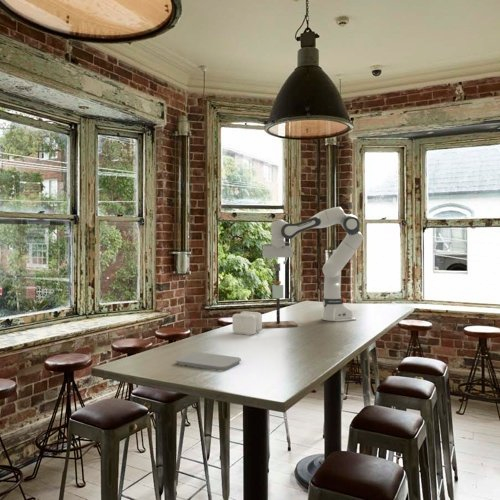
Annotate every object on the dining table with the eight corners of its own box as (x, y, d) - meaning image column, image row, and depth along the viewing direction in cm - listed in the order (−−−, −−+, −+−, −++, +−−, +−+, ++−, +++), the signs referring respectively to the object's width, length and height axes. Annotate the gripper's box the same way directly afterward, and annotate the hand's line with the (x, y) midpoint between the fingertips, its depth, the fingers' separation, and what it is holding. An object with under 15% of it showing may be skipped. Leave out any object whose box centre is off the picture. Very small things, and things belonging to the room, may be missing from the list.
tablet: (224, 372, 185) (224, 367, 185) (173, 365, 197) (173, 360, 197) (243, 363, 199) (243, 358, 199) (194, 356, 212) (194, 351, 212)
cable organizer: (263, 332, 262) (263, 312, 262) (253, 336, 253) (253, 315, 253) (241, 330, 270) (241, 310, 270) (231, 333, 261) (231, 313, 261)
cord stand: (292, 323, 291) (292, 262, 290) (298, 326, 278) (297, 263, 277) (259, 324, 288) (258, 263, 287) (262, 328, 275) (261, 264, 274)
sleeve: (279, 297, 286) (279, 284, 286) (283, 298, 281) (283, 285, 281) (272, 297, 284) (272, 284, 284) (276, 298, 279) (276, 285, 279)
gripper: (263, 243, 300) (263, 264, 300) (293, 243, 303) (293, 264, 303) (261, 243, 306) (261, 264, 306) (291, 243, 309) (291, 263, 309)
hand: (277, 264), depth 305 cm, fingers open, 8 cm apart
